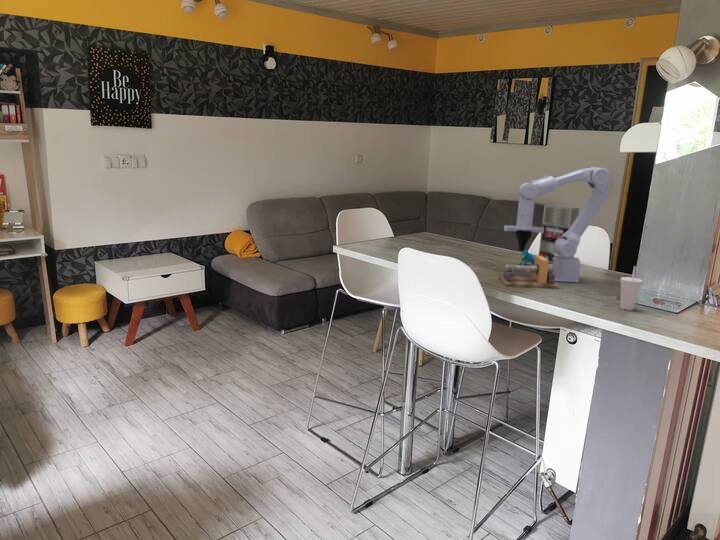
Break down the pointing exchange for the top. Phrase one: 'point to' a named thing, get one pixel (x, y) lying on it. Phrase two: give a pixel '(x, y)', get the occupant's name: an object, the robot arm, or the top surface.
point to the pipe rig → (527, 281)
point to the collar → (541, 269)
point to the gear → (527, 257)
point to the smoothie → (629, 291)
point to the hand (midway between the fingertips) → (521, 250)
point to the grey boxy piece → (555, 227)
